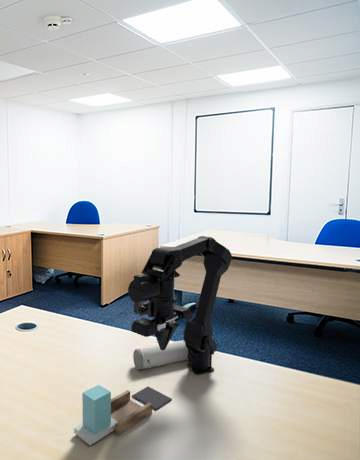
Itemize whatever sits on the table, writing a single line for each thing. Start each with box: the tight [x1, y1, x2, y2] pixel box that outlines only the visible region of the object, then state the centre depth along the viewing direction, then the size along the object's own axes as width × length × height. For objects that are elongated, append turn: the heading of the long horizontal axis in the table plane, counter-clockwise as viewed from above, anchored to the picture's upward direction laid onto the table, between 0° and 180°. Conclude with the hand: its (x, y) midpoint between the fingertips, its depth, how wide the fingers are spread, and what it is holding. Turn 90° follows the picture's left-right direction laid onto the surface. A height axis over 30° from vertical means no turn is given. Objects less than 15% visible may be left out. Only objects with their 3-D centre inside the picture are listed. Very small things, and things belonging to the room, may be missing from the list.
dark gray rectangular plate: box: [131, 386, 172, 411], centre depth 94 cm, size 6×9×1 cm, turn 50°
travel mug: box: [132, 339, 190, 371], centre depth 114 cm, size 6×7×20 cm
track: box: [111, 389, 153, 437], centre depth 86 cm, size 11×9×2 cm
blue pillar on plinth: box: [73, 384, 118, 446], centre depth 80 cm, size 8×6×9 cm
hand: (162, 349), depth 97 cm, fingers closed
